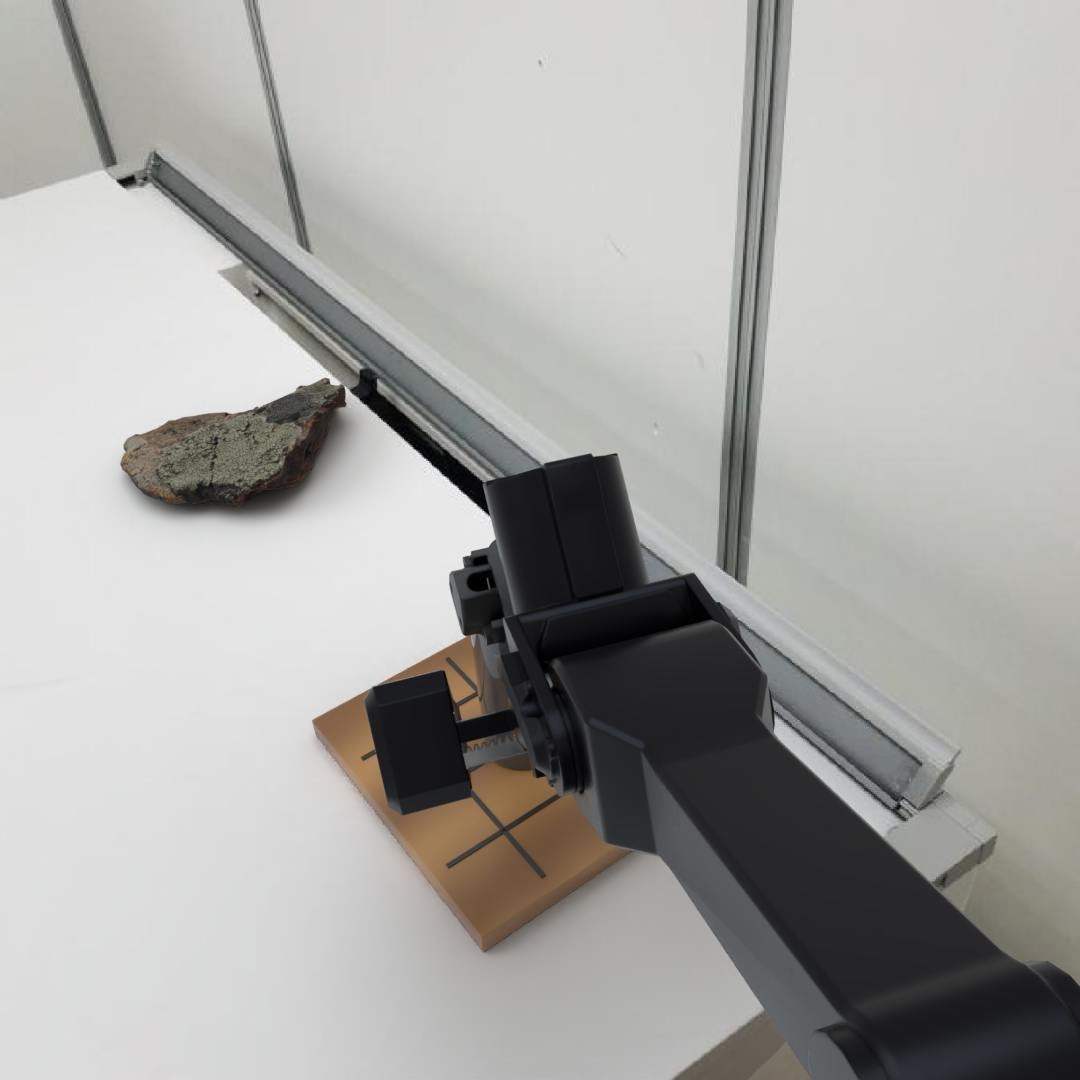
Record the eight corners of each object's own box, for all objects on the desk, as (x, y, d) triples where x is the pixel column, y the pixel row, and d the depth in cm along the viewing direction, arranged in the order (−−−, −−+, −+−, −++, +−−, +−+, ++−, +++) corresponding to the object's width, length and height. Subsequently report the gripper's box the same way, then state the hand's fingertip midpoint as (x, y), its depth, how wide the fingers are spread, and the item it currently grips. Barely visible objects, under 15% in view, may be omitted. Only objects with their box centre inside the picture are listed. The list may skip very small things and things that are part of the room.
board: (746, 773, 72) (747, 756, 71) (483, 953, 64) (481, 937, 63) (555, 603, 85) (554, 587, 84) (315, 734, 76) (310, 718, 75)
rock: (110, 540, 93) (92, 491, 90) (133, 422, 106) (117, 376, 103) (357, 505, 95) (347, 456, 92) (349, 394, 108) (340, 347, 105)
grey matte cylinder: (548, 777, 71) (537, 627, 62) (472, 759, 72) (452, 610, 64) (572, 718, 74) (565, 568, 66) (499, 702, 76) (483, 553, 67)
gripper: (749, 482, 52) (657, 525, 67) (336, 575, 48) (339, 598, 63) (811, 726, 51) (704, 713, 66) (396, 838, 47) (384, 797, 63)
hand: (536, 700), depth 65 cm, fingers open, 9 cm apart
